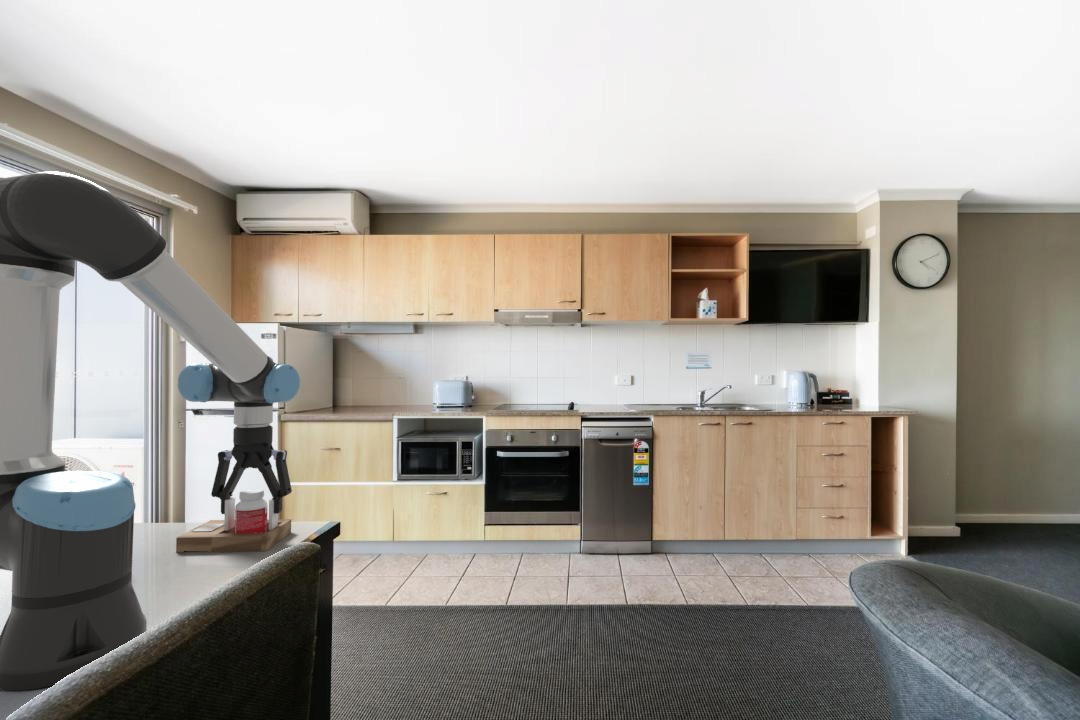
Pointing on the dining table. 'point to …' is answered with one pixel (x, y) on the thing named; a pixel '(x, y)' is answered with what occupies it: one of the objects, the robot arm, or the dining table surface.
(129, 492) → the robot arm
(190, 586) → the dining table surface
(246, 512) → the pill bottle
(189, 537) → the socket block
